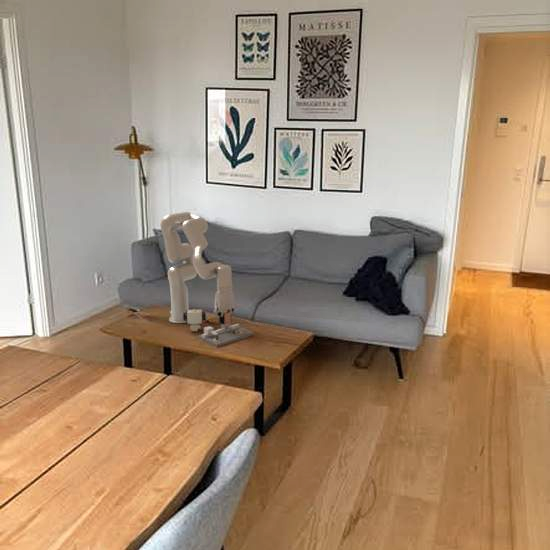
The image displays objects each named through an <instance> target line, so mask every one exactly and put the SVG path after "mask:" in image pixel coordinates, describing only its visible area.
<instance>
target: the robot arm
mask: <svg viewBox="0 0 550 550" xmlns="http://www.w3.org/2000/svg"><path fill="white" fill-rule="evenodd" d="M181 229H182V231H183V233H184V235H185V236H186V239H187V241H188V242H189V243H188V242H186V243H185V242H184V243H182V242H181V237H180V235H179V233H178V232H177V231H176V230H181ZM208 229H209V225H208V222H207V221H206V219H205V218H203V217H202V216H199V215H197V214H194V213H192V212H188V211H184V212H183V211H182V212H177V213H176V212H175V213H172V214H167V215H165V216H164V217H163V218H162V219H161V221H160V230H161V231H160V232H161V233H162V236H163V240H164V245H165V252H166V256H167V260H168V261H169V263H171V264H175V265H173V266H171V267H169V268H168V271H167V279H168V283H169V290H170V292H169V293H170V309H171V310H170V311H169V313H170V314H171V316H170V317H168V318H169V319H168V321H169V322H170V323H173V324H185V323H186V321H184V320H183V313H186V310H190V309H189V290H188V286H187V285H186V283H185V281H189V280H192V279H194V278H195V277H197V275H198V276H199V278H201V280H204V281H205V280H210V279H213V278H216V290H217V291H215V294H214V296H215V297H214V310H213V313H214V314H216V316H218V320H219V321H218V322H219V324H220V325H221V324H224V317H223V312H224V311H229V312H231V316H232V315H233V312H234V311H235V309H236V308H237V306H236V304H235V303H236V302H235V295H234V290H233V288H234V285H233V283H232V282H233V281H232V278H233V277H232V276H233V275H232V266H230V265H229V264H223V263H221V262H219V261H214V262H210V263H205V262H204V260H203V257H202V253H203V251H204V250H205V249H206V248H207V246H208V245H209V242H208V241H207V238H206V236H205V233H206V232H207V231H208ZM181 262H182V263H181ZM177 263H180V264H177Z"/></svg>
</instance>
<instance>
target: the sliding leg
mask: <svg viewBox="0 0 550 550" xmlns="http://www.w3.org/2000/svg"><path fill="white" fill-rule="evenodd" d="M223 317H224V324H221V323H220V329H221V328H224V329H227V328H228V329H231V330H233V334H235V328H233V327H231V324H232V315H231V312H229V311H227V310H226V311H224V312H223Z"/></svg>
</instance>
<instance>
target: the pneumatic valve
mask: <svg viewBox="0 0 550 550" xmlns="http://www.w3.org/2000/svg"><path fill="white" fill-rule="evenodd" d="M183 320H184V321H186V325H187V324H189V325H190V327H189V328H190V331H191V332H199V331H198V329H199V330H201V325H200V324H204V321H207V312H206V311H204V309H196V308H193V309H189V310H186V313H183Z"/></svg>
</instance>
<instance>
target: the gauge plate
mask: <svg viewBox="0 0 550 550" xmlns="http://www.w3.org/2000/svg"><path fill="white" fill-rule="evenodd" d="M230 326H231V327H233V328H235V334H233V330H231V329H228V328H227V329H224V328H221V327H220V328H218V329H216V330H215V328H214V327H212V326H210V325H209V326H205V327H203V333H202V334H199V335H197V339H198V338H200V339H202V340H204V341H206V342H208V343H207V344H209V343H210V344H209V345H211V344H212V345H211V346H213V345H214V346H213V347H215V346H216V347H215V348H219V347H218V346H220V345H223V346H225V345H224V344H226V345H228V344H227V343H229V344H231V342H232V343H235V342H237V340H238V341H240V339H241V340H244V339H246V338H245V337H247V338H249V336H250V337H252V335H253V336H254V335H255V332H253V331H251V330H249V329H246V328H244V327H241V326H240V323H236V324H235V323H234V324H230ZM243 338H244V339H243ZM200 339H199V340H200ZM202 340H201V341H202ZM204 341H203V342H204ZM234 341H235V342H234ZM206 342H205V343H206ZM220 347H221V346H220Z"/></svg>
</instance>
